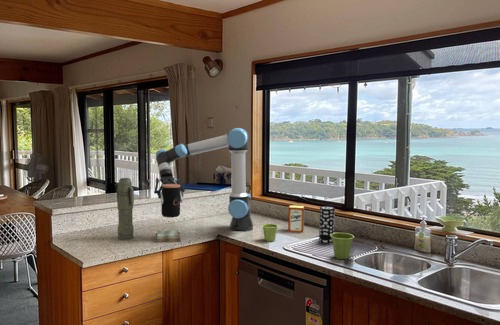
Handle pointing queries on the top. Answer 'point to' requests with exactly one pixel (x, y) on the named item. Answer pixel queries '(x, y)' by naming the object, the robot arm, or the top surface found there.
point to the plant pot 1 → (269, 231)
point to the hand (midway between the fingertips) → (172, 202)
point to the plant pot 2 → (342, 244)
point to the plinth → (167, 236)
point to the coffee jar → (171, 200)
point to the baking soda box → (296, 218)
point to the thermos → (125, 209)
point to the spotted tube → (326, 224)
